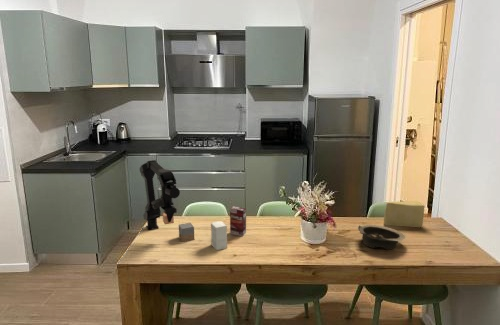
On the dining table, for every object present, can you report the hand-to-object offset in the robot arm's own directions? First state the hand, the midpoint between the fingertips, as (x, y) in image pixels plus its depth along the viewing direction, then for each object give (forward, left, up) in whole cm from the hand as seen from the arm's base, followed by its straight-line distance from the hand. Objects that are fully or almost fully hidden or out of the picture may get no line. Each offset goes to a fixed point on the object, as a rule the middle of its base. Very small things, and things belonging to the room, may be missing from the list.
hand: (168, 220), depth 213 cm
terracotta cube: (0, 0, -1) cm, 1 cm away
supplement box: (+8, +39, -12) cm, 42 cm away
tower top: (+1, +10, -8) cm, 13 cm away
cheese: (+39, +136, -13) cm, 142 cm away
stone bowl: (+54, +105, -13) cm, 119 cm away
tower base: (+1, +10, -12) cm, 16 cm away
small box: (+19, +23, -12) cm, 32 cm away
